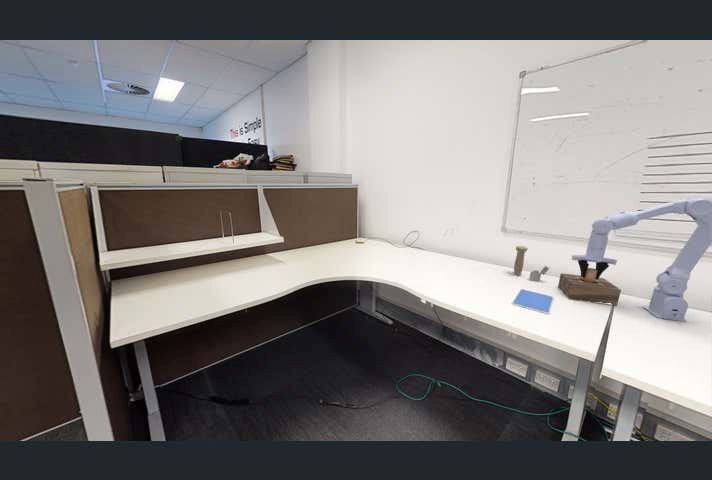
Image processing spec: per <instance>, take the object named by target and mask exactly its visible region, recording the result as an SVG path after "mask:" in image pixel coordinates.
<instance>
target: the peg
mask: <svg viewBox="0 0 712 480" xmlns="http://www.w3.org/2000/svg"><path fill="white" fill-rule="evenodd" d="M597 271H598V270H596V268H593V267H588V268H587V271H586V276H585V278H583V280H582V281H583V282H587V283H595V279H596V275H597Z"/></svg>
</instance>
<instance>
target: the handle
mask: <svg viewBox="0 0 712 480" xmlns="http://www.w3.org/2000/svg"><path fill="white" fill-rule="evenodd" d="M515 250H516V251H517V253H516V255H515V256H516V257H515V261H514V267H513V271H514V272H513V275H515V276H521V275H522V272H523V267H524V264H525V263H524V261H525V254H526V253H525V252H527V251H528V247H526V246H524V245H523V246H522V245H516V246H515Z"/></svg>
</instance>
